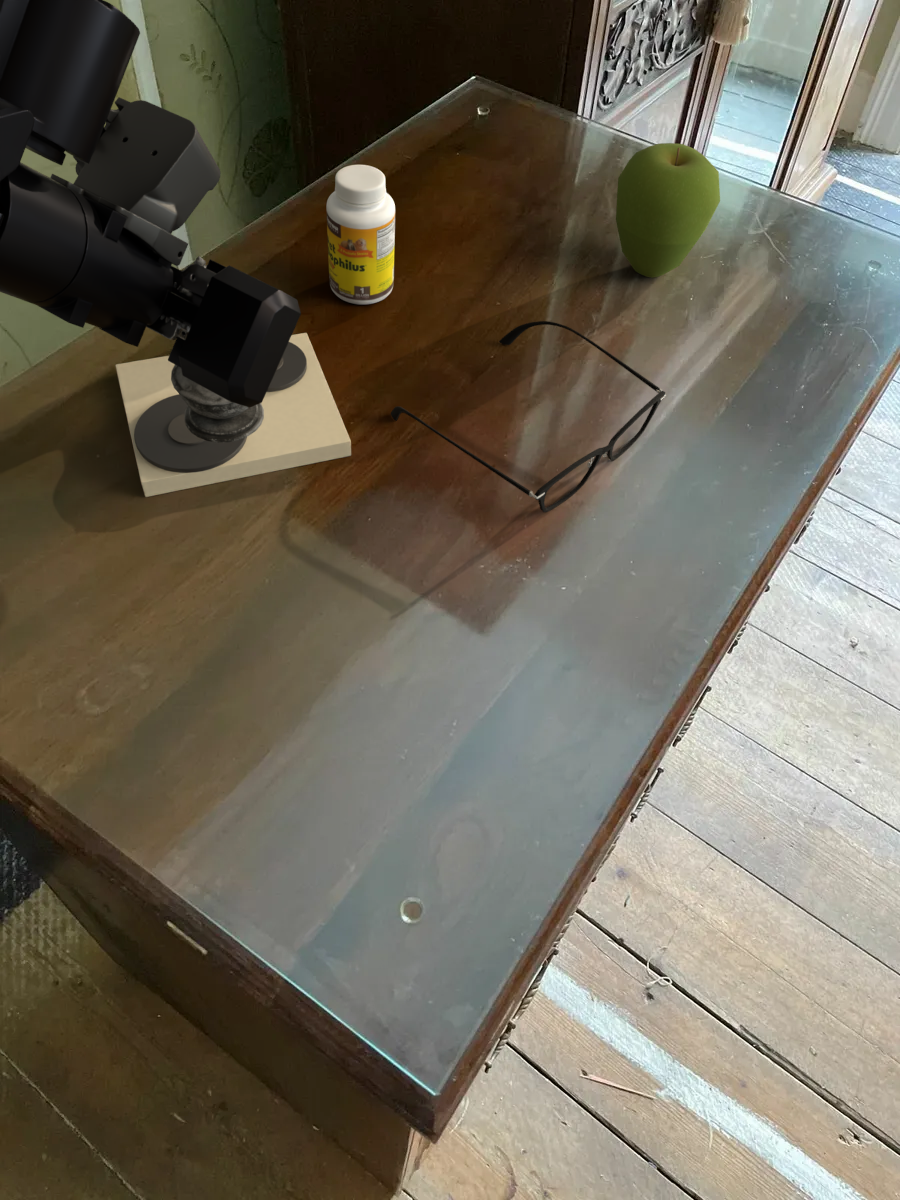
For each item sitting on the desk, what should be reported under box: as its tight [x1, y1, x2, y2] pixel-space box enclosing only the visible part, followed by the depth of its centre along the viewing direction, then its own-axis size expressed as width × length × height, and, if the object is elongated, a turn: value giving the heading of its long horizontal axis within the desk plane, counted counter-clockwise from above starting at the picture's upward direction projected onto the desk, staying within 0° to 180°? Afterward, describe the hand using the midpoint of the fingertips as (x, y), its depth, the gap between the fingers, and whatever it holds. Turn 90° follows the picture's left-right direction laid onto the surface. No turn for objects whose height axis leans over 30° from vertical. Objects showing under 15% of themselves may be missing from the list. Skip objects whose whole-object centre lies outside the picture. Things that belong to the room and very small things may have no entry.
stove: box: [114, 332, 352, 498], centre depth 72 cm, size 15×13×2 cm
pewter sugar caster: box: [171, 255, 264, 443], centre depth 60 cm, size 6×6×12 cm
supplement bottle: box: [325, 164, 396, 306], centre depth 79 cm, size 6×6×10 cm
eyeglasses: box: [390, 320, 667, 513], centre depth 72 cm, size 16×16×4 cm
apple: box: [615, 142, 721, 279], centre depth 83 cm, size 9×8×12 cm
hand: (226, 324), depth 60 cm, fingers closed on pewter sugar caster, 3 cm apart
